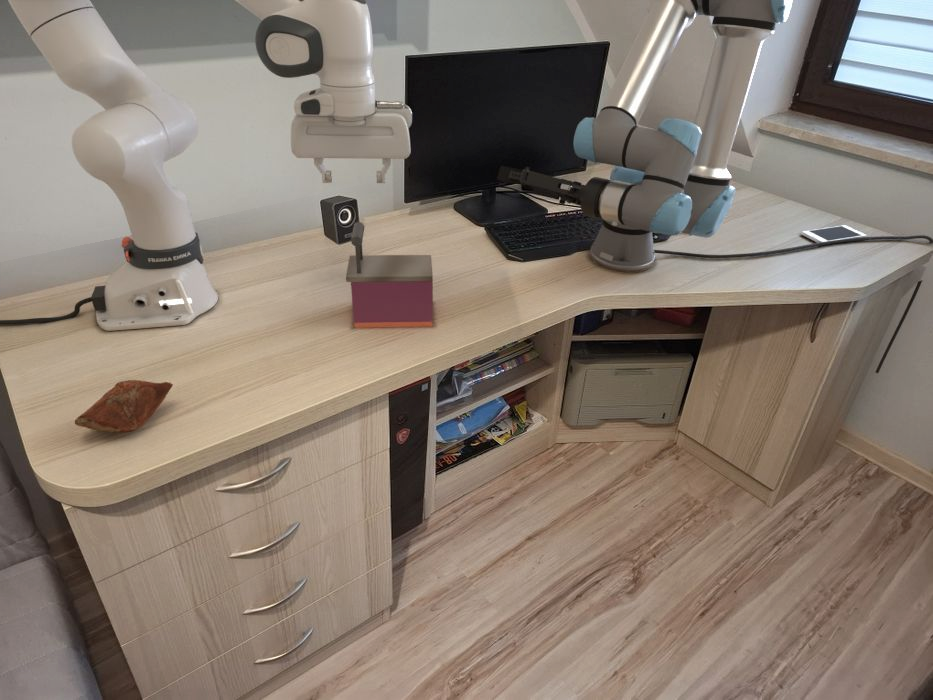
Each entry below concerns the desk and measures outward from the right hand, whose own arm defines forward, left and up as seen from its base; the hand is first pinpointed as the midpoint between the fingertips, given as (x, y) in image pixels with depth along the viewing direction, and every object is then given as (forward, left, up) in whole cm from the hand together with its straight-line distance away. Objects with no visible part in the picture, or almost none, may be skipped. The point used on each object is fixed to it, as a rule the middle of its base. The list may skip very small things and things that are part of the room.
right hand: (517, 180), depth 133 cm
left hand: (+37, +2, +5) cm, 37 cm away
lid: (+31, +4, -12) cm, 34 cm away
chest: (+31, +5, -22) cm, 38 cm away
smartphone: (-90, +19, -22) cm, 95 cm away
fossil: (+81, +17, -22) cm, 85 cm away
